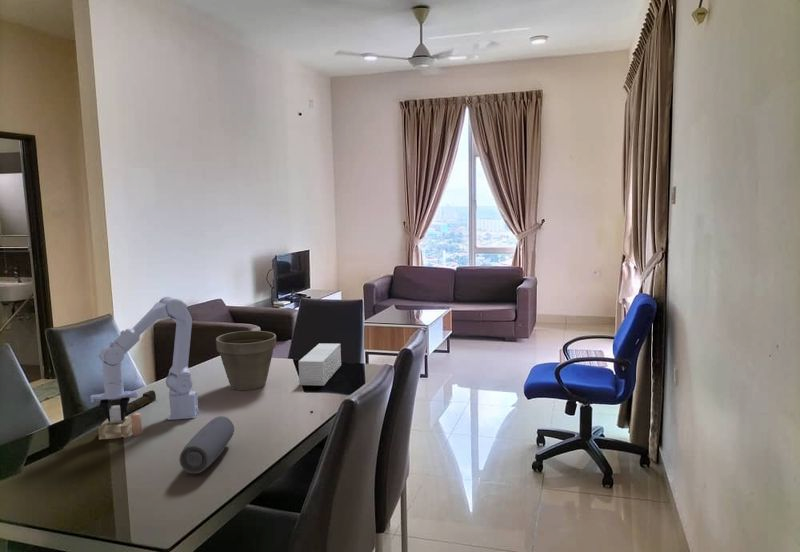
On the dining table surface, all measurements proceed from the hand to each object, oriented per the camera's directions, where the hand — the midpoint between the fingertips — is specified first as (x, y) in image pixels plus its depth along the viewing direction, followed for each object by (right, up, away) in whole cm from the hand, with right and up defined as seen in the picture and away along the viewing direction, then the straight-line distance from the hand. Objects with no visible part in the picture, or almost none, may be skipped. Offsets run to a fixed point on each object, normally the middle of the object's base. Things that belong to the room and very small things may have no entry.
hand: (116, 419), depth 190 cm
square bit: (0, -4, +1) cm, 4 cm away
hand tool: (-5, -2, +26) cm, 26 cm away
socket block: (0, -5, +1) cm, 5 cm away
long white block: (+61, +4, +64) cm, 89 cm away
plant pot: (+32, +2, +50) cm, 59 cm away
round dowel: (+7, -5, -1) cm, 9 cm away
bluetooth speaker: (+39, -7, -22) cm, 45 cm away
